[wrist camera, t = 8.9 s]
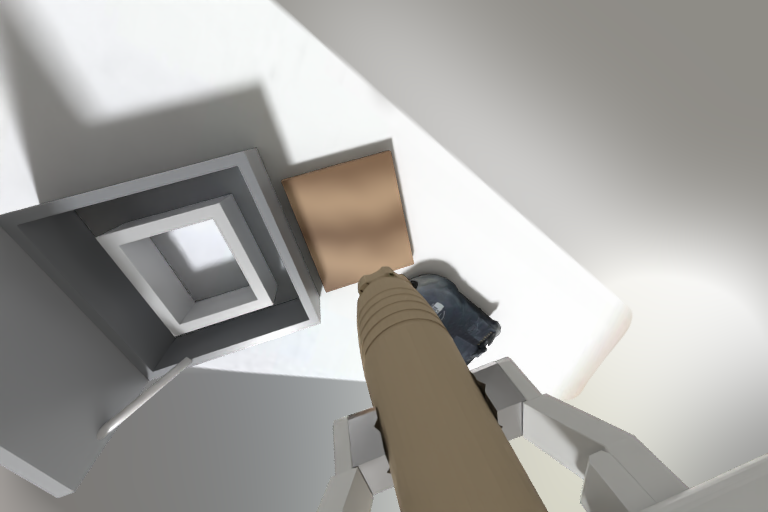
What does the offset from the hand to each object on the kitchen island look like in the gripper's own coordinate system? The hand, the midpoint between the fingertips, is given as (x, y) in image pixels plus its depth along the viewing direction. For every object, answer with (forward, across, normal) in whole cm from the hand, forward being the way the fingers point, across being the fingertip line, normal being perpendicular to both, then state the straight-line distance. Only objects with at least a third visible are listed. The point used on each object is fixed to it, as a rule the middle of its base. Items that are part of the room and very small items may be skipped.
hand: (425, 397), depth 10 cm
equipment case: (+20, +14, -1) cm, 24 cm away
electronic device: (+21, -7, +15) cm, 26 cm away
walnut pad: (+20, 0, 0) cm, 20 cm away
